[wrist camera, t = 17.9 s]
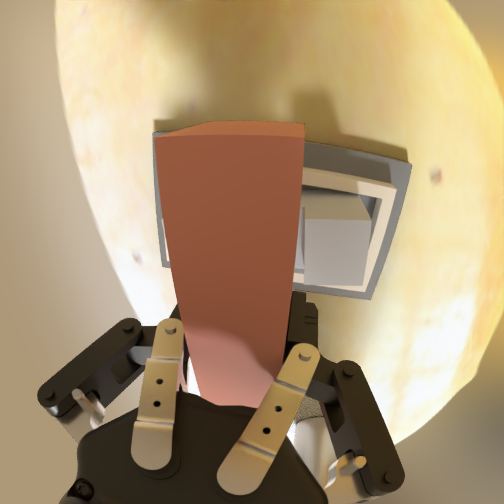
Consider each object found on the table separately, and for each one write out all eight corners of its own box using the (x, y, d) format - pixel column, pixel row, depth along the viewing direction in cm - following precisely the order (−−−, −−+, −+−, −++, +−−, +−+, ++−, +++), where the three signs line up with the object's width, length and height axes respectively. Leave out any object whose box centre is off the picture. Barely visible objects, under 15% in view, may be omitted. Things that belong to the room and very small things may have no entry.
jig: (368, 294, 27) (372, 309, 25) (166, 261, 30) (156, 274, 28) (408, 162, 20) (418, 169, 18) (157, 131, 22) (143, 135, 20)
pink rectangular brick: (278, 384, 20) (269, 440, 15) (228, 376, 20) (211, 430, 16) (304, 123, 10) (304, 138, 6) (210, 121, 11) (154, 137, 7)
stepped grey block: (352, 244, 24) (362, 285, 19) (200, 242, 26) (175, 278, 21) (356, 190, 21) (371, 220, 16) (191, 191, 24) (161, 219, 19)
